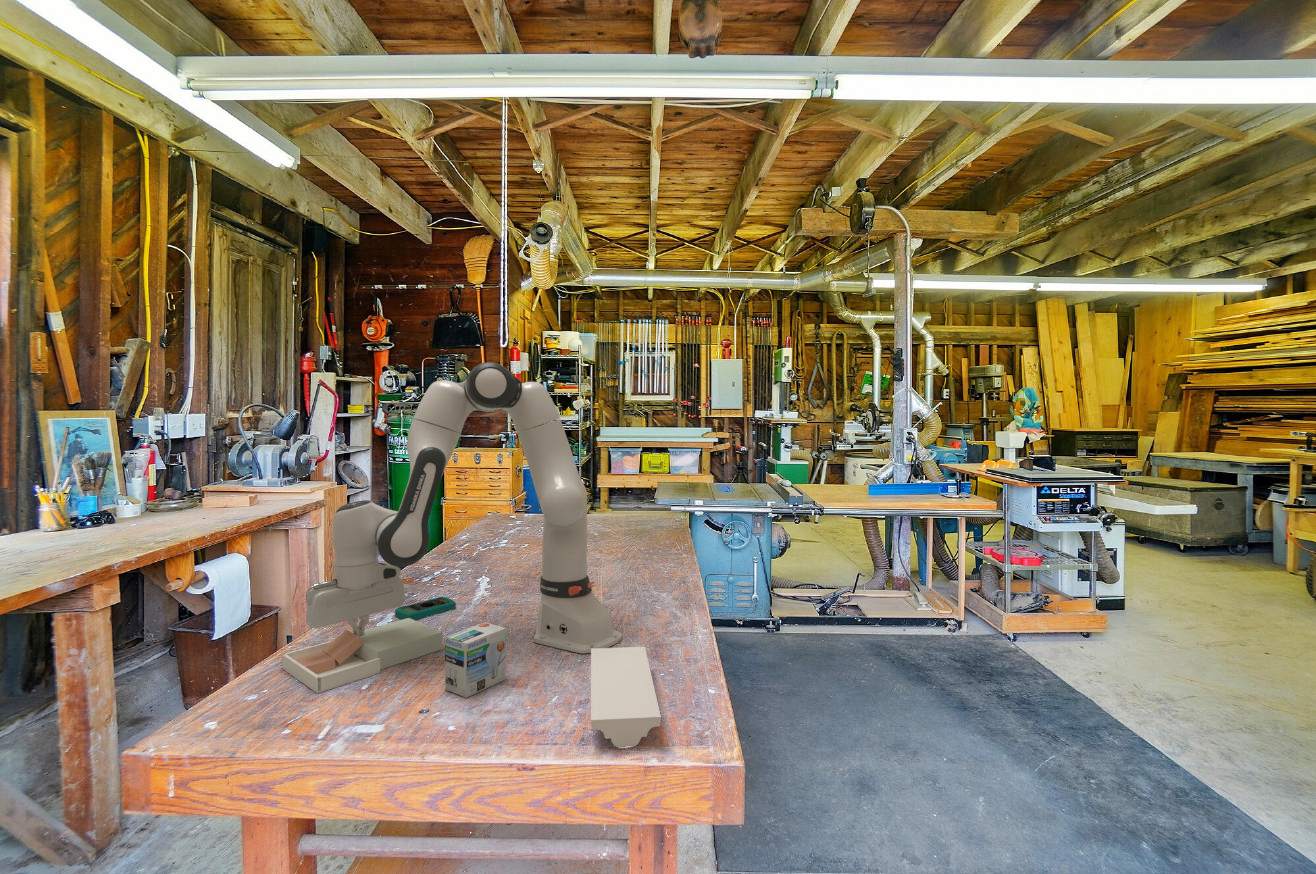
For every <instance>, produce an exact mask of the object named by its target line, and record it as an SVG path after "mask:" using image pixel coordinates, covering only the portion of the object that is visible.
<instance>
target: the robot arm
mask: <svg viewBox="0 0 1316 874" xmlns="http://www.w3.org/2000/svg"><path fill="white" fill-rule="evenodd" d="M556 407H557V406H556V405H555V403H554V401H553V399H552V397H551V394H549V391H548V390H547V387H545V386H544V385H543V384H542V383H541V382H536V381H525V382H522V381H521V380H520V379H519V378H518V377H516V375H514V373H512V372H511V371H510V370H509V369H508V368H506V367H505V366H503V365H502V364H500V363H498V362H494V361H487V362H482V363H478V364H477V365H476V366H474V367H473V368H472V369H471V370H470V372H469V373H468V375H467V378H466V379H465V380H464V381H463V382H454V381H452V380H446V379H445V380H443V379H442V380H436V381H433V382H432V383H431V384H430V385H429V387H428V388H427V389H426V391H425V393H424V395H423V396H422V398H421V400H420V402H419V404H418V407H417V408H416V410H415V412H414V415H413V418H412V420H411V423H410V427H409V430H408V435H407V441H406V451H407V455H408V458H409V467H410V468H409V469H410V471H409V477H408V482H407V485H406V487H405V490H404V494H403V496H402V499H401V503H400V505H399V508H398V510H393V509H390V508H386V507H383V506H381V505H378V504H376V503H375V502H373V501H371V500H369V499H368V500H367V499H365V500H358V501H352V502H349V503H346V504H344V505H341V506H340V507H339V508H338V509H337V510H336V511H335V512H334V514H333V520H332V521H333V522H332V547H333V549H334V559H333V579H331V580H326V581H323V582H317V583H314V584H312V586H310V587H309V588H308V589H307V590H306V591H305V603H306V612H305V613H306V615H305V622H306V625H308V626H309V627H311V628H312V629H315V630H317V629H321V628H324V627H329V626H332V625H335V624H339V623H343V622H347V623H348V625H349V626H350V627H351V628H352V631H353V632H352V633H353V634H355V635H357V636H359V637H360V636H363V635H364V634H365V632H364V630H365V628H366V626H367V624H368V622H369V621H370V615H373V614H376V613H379V612H380V613H381V612H384V611H388V610H390V609H391V610H392V609H394V608H399V607H403V604H404V602H405V601H406V594H405V586H404V581H403V579H402V578H401V577H400V576H401V572H402V571H401V568H402V567H403V568H405V567H409V566H412V565H413V564H416V563H418V562H419V561H420V560H422V558H423V557H424V556H425V555H426V554H427V551H428V549H429V545H430V532H429V519H430V515H431V512H432V509H433V505H434V503H435V499H436V495H437V494H438V493H437V492H438V488H439V486H440V483H441V479H442V477H443V475H444V472H445V471H446V468H447V465H448V463H449V462H450V459H451V457H452V455H453V453H454V452H455V449H456V446H457V444H458V442H459V439H460V436H461V434H462V431H463V428H464V425H465V422H466V420H467V418H468V417H469V415H470V414H471V413H475V414H476V413H479V414H491V413H495V412H498V411H500V410H503V411H505V412H506V413H507V414H508V415H509V417H510V418H511V420H512V422H513V425H514V427H515V431H516V433H517V437H518V439H519V442H520V444H521V447H522V448H521V449H522V450H523V453H524V456H525V459H526V462H527V465H528V468H529V469H528V470H529V472H530V476H531V480H532V483H533V486H534V489H535V493H536V497H537V501H538V503H539V506H540V508H541V512H542V514H543V522H542V523H543V526H542V528H543V529H542V545H541V547H542V548H541V553H542V555H541V564H542V565H541V566H542V567H541V573H542V574H541V576H540V581H539V590H540V591H539V592H540V593H541V597H540V602H539V605H538V610H537V611H538V612H537V621H536V629H535V631H534V634H535V635H534V637H533V643H536V644H540V645H543V646H547V647H551V648H557V649H559V650H565V651H568V652H569V651H570V652H574V653H579V654H589V653H590V654H591V649H593V648H611V647H612V646H614V645H616V644H617V643H619V642H620V641H622V639H623V634H622V632H620V631H618V630H616V629H614V628H613V620H612V615H611V613H610V612H609V610H608V609H607V607H606V606H604V605H603V603H601V601H600V600H599V599H598V597H596V596H595V595H594V593H593V589H592V588H593V587H595V585H594V584H595V583H596V582H595V581H590V578H589V575H588V569H587V568H588V567H587V566H588V564H587V563H588V561H587V560H588V559H587V558H588V555H587V553H588V547H587V545H588V491H587V488H586V486H585V484H584V483H583V482H582V480H581V478H580V475H579V471H578V468H577V464H576V462H575V459H574V456H573V453H572V449H571V446H570V443H569V439H568V437H567V434H566V432H565V429H564V426H563V423H562V420H561V418H560V415H559V411H558V410H557V408H556ZM379 556H380V557H381V559H383V561H384V562H379ZM385 562H386V563H385ZM400 567H401V568H400ZM359 619H360V620H359ZM357 623H359V624H358V625H357Z"/></svg>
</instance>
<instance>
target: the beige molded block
mask: <svg viewBox="0 0 1316 874" xmlns="http://www.w3.org/2000/svg"><path fill="white" fill-rule="evenodd" d="M650 668H651V667H650V663H649V660H648V655H647V651H646V647H645V646H631V647H630V646H628V647H607V648H593V649H591V653H590V723H591V725H590V727H591V730H593V731H594V730H598V731H600V732H602V733H603V737H604V739H606V740H607V739H608V740H610V741H611V743H612V744H613V746H614V747H615V748H617V747H626V746H635V747H636V746H638V744H639V743H640V741H641V740H642V738H644V737H645V738H647V737H648V734H649V731H650V730H651V729H653V728H654V727H655V728H657V727H661V719H662V716H661V711H660V707H659V703H658V698H657V693H656V690H655V685H654V682H653V677H652V673H651V669H650Z"/></svg>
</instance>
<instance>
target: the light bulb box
mask: <svg viewBox="0 0 1316 874" xmlns="http://www.w3.org/2000/svg"><path fill="white" fill-rule="evenodd" d="M444 674H445V675H444V690H445V691H448V692H450V693H453V694H456V695H458V696H460V697H464V698H469V697H472V696H474V695H476V694H478V693H480V692H482V691H484V690H486V689H488V688H490V687H492V686H495V685H497V684H499V683H501V682H503V681H505V680H506V679H507V628H506V627H503V626H500V625H496V624H493V623H490V622H482V623H479V624H476V625H473V626H471V627H468V628H465V629H463V630H460V631H458V632H455V633H452V634H450V635H447V636H445V637H444Z"/></svg>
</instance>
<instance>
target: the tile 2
mask: <svg viewBox="0 0 1316 874" xmlns="http://www.w3.org/2000/svg"><path fill="white" fill-rule="evenodd" d="M333 640H334V641H333ZM333 640H331V641H332V642H331V643H330V644H329V645H328V646H327V647H325V648H324V649H323V650H322V651H323V652H325V653H327V654H328V655H330V656H332V657H333V658H335V662H336V663H338V664H339V665H340V664H341V663H342V662H343V661H344V660H346V659H347V658H348V657H349V656H350V655H351V654H352V653H353V652H355V651H356V650H357V649H358V648H359V647H360V646H361V645H362V644H363V641H362V640H361V639H360V638H359V636H357V635H355V634H353V632H351V631H350V630H349V629H348V630H347V629H345V630H344V631H343V632H341V633H340V634H339V635H338V636H337V637H336V638H335V639H333Z"/></svg>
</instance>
